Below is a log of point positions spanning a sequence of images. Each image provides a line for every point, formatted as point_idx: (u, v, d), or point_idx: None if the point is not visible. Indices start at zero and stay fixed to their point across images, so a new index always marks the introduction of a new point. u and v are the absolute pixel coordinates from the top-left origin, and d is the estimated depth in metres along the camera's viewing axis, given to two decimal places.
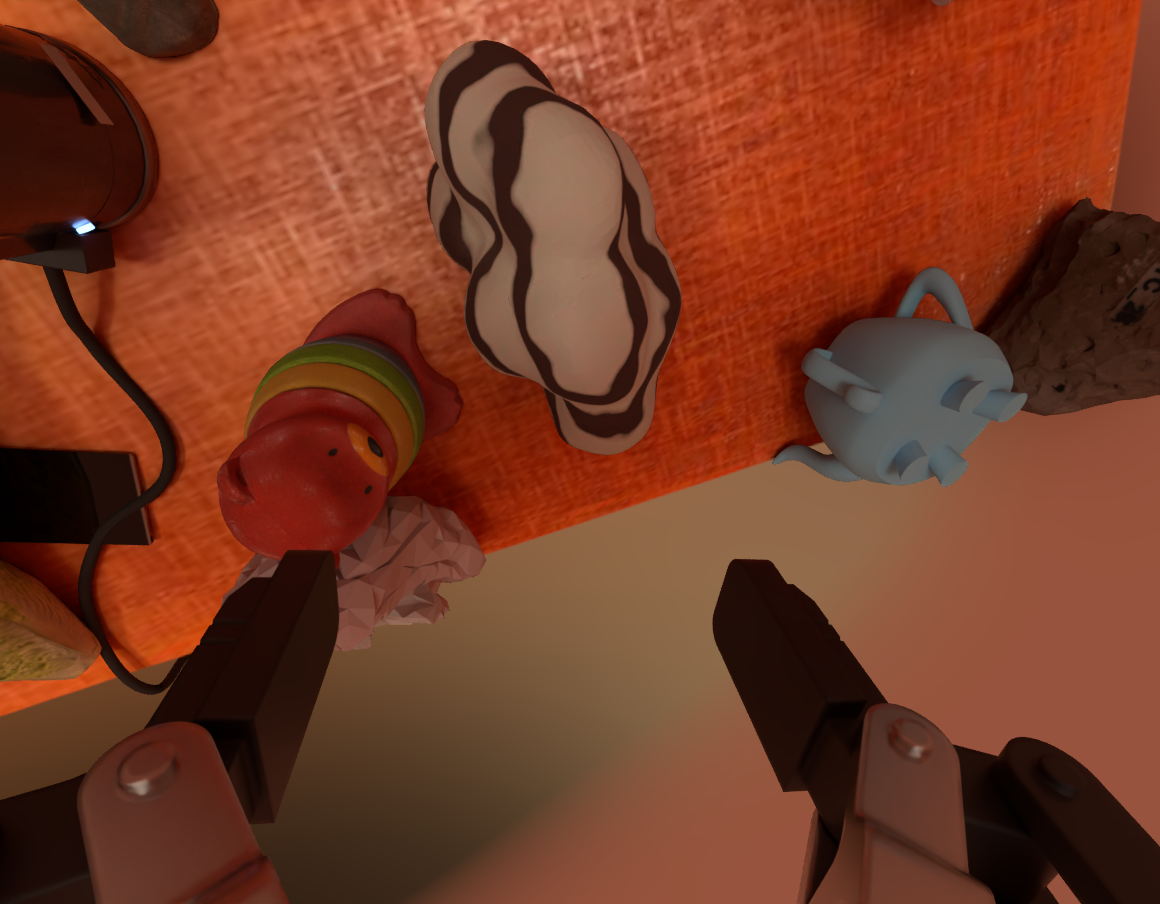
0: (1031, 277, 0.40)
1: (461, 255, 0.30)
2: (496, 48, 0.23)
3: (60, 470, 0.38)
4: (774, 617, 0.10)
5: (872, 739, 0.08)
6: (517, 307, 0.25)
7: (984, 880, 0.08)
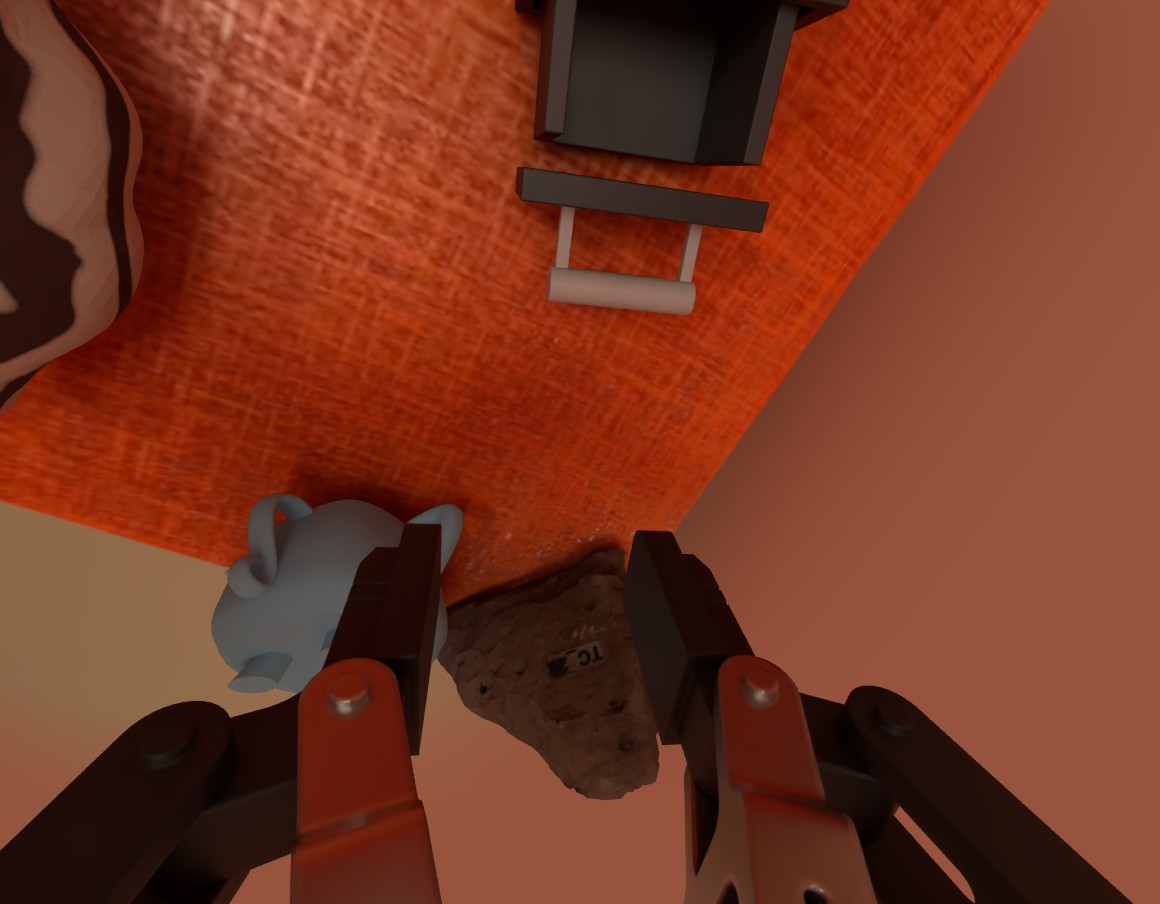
0: (548, 578, 0.39)
1: None
2: None
3: None
4: (660, 581, 0.10)
5: (721, 686, 0.08)
6: None
7: None
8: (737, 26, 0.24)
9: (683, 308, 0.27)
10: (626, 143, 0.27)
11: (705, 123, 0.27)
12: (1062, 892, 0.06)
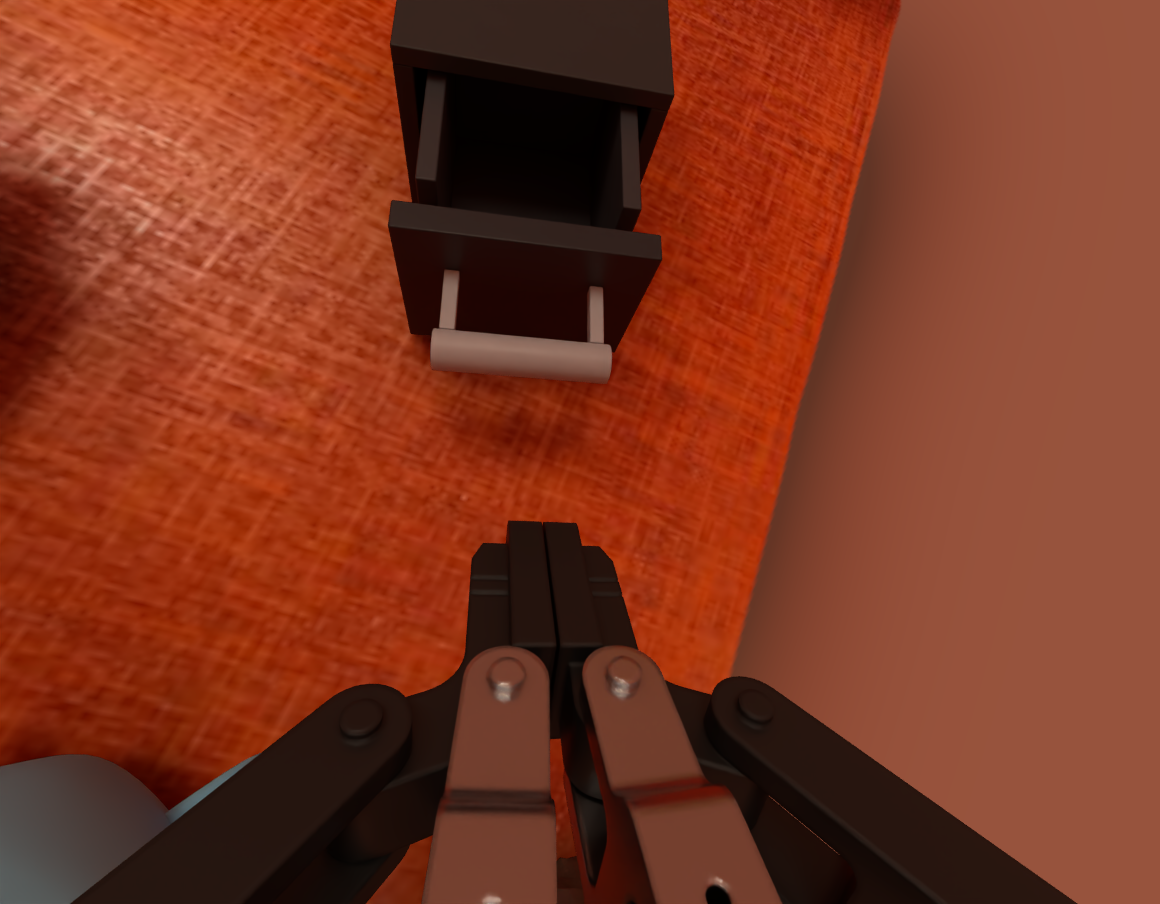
0: None
1: None
2: None
3: None
4: (550, 572, 0.10)
5: (583, 677, 0.08)
6: None
7: None
8: (599, 180, 0.28)
9: (600, 363, 0.22)
10: None
11: None
12: (924, 846, 0.06)
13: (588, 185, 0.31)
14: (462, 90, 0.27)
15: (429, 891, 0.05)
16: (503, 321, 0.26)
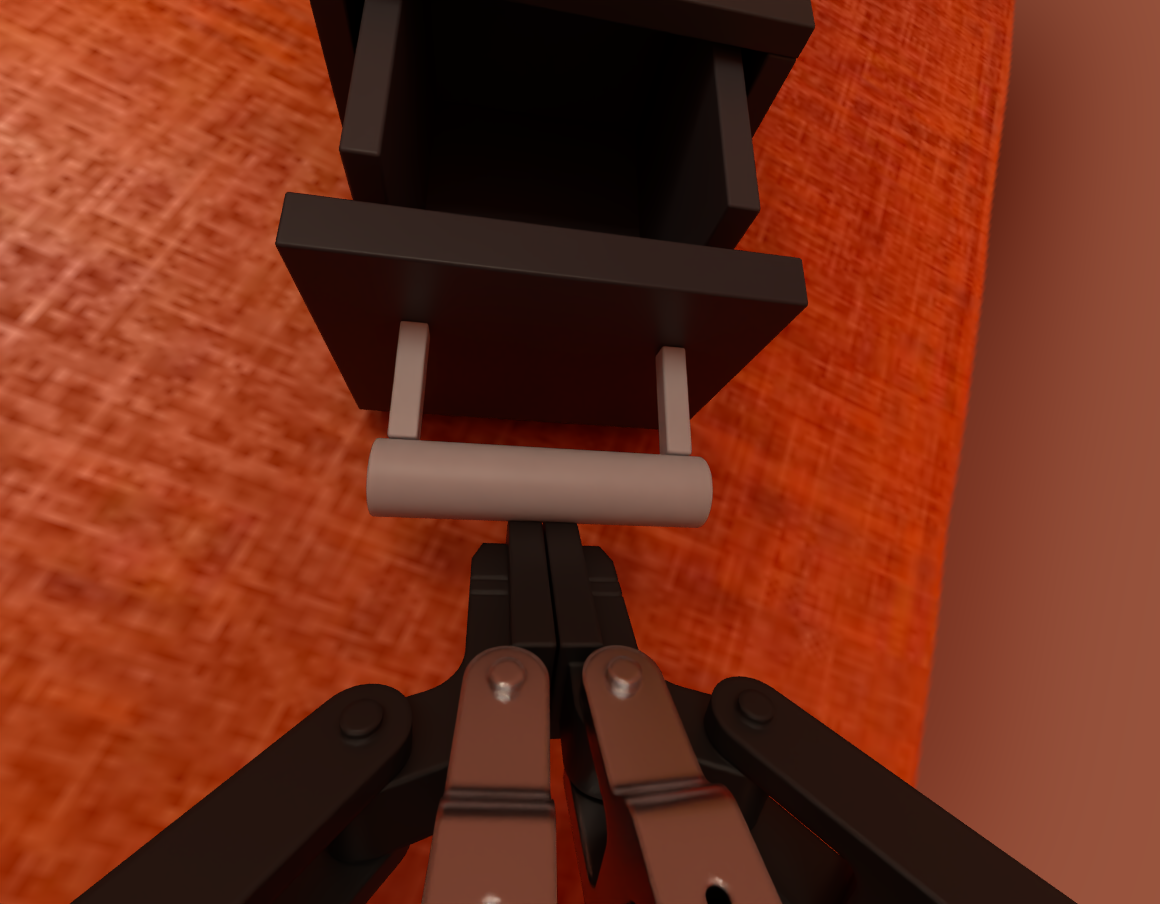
0: None
1: None
2: None
3: None
4: (550, 572, 0.10)
5: (583, 678, 0.08)
6: None
7: None
8: (659, 163, 0.18)
9: (691, 498, 0.12)
10: None
11: None
12: (924, 846, 0.06)
13: (634, 174, 0.20)
14: (443, 20, 0.17)
15: (429, 891, 0.05)
16: (507, 394, 0.16)
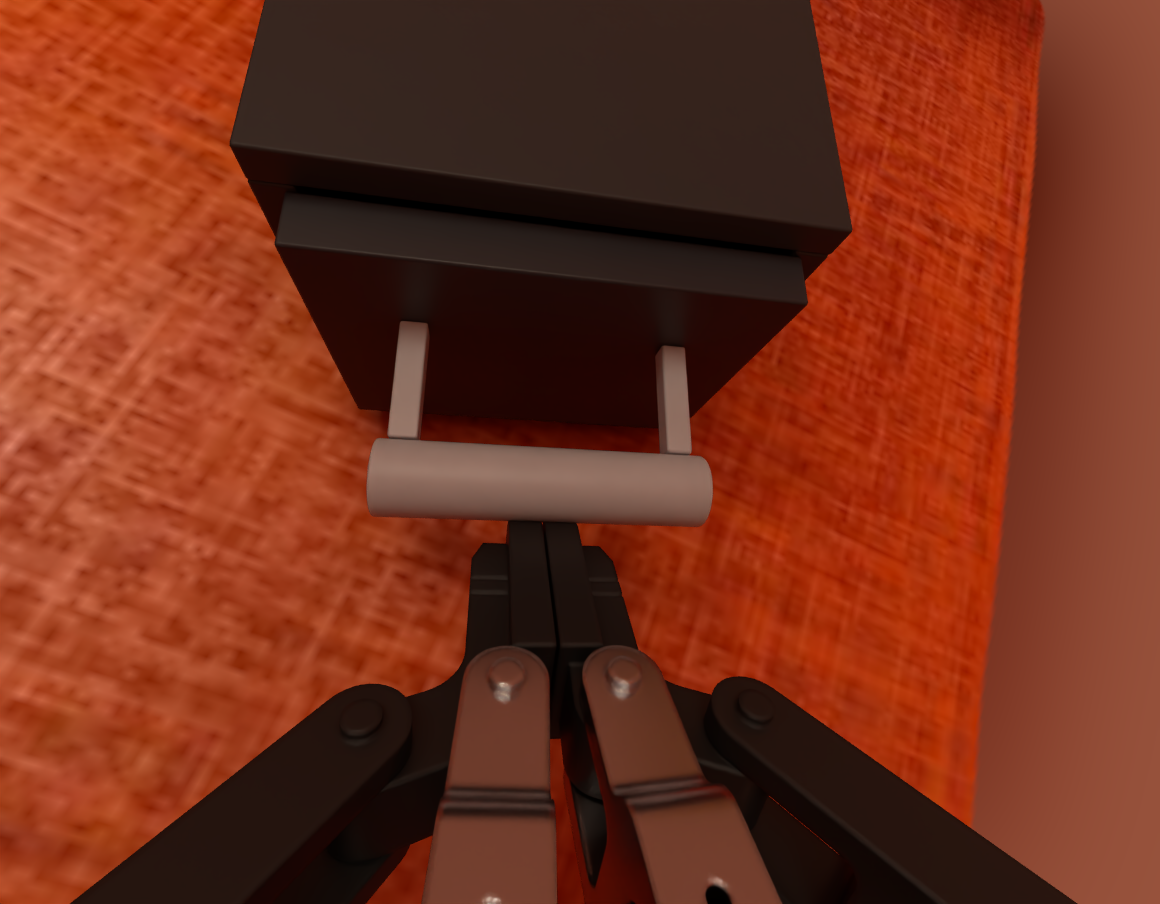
0: None
1: None
2: None
3: None
4: (550, 572, 0.10)
5: (584, 677, 0.08)
6: None
7: None
8: None
9: (692, 498, 0.12)
10: None
11: None
12: (924, 846, 0.06)
13: None
14: None
15: (429, 891, 0.05)
16: (507, 394, 0.16)
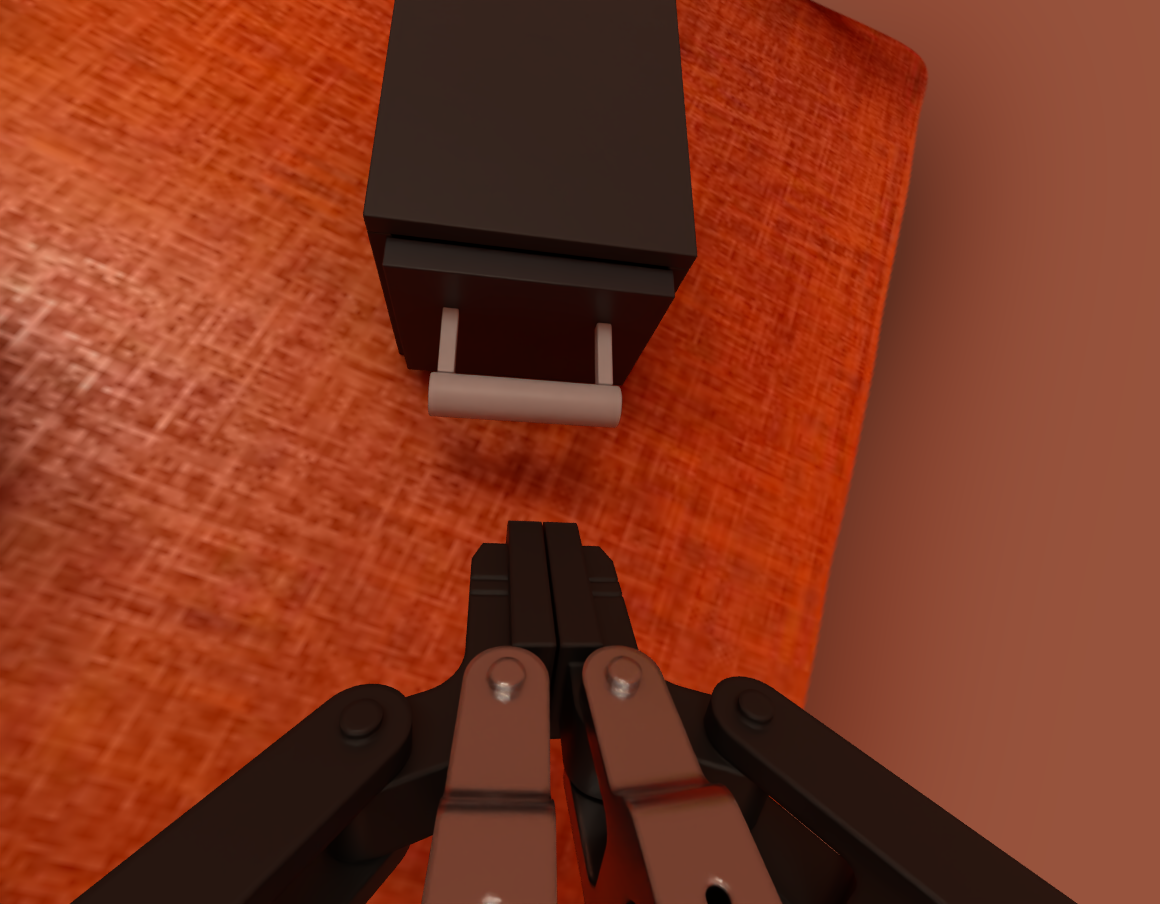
0: None
1: None
2: None
3: None
4: (550, 572, 0.10)
5: (584, 677, 0.08)
6: None
7: None
8: None
9: (609, 407, 0.20)
10: None
11: None
12: (925, 846, 0.06)
13: None
14: None
15: (429, 891, 0.05)
16: (505, 357, 0.25)
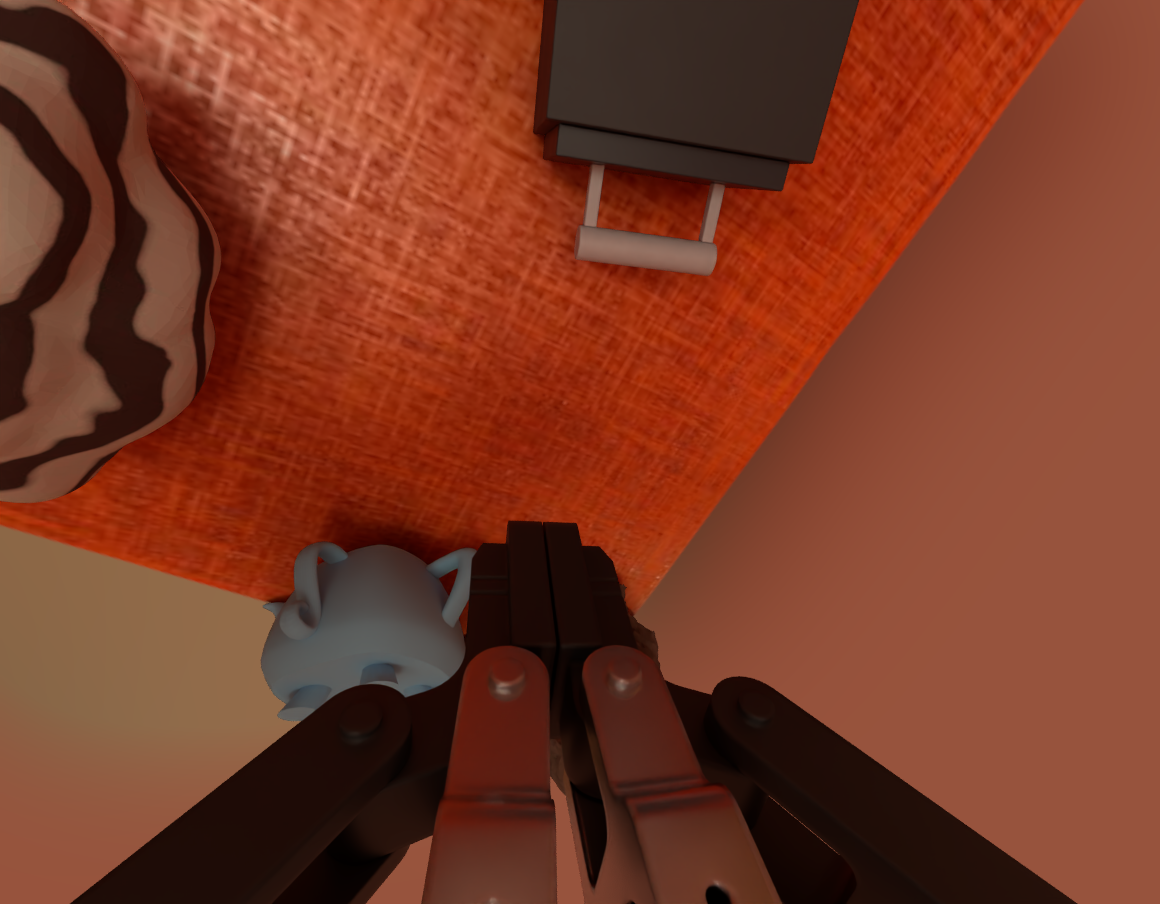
0: None
1: None
2: (55, 33, 0.19)
3: None
4: (550, 572, 0.10)
5: (584, 678, 0.08)
6: None
7: None
8: None
9: (705, 267, 0.28)
10: None
11: None
12: (924, 846, 0.06)
13: None
14: None
15: (429, 891, 0.05)
16: (629, 171, 0.29)
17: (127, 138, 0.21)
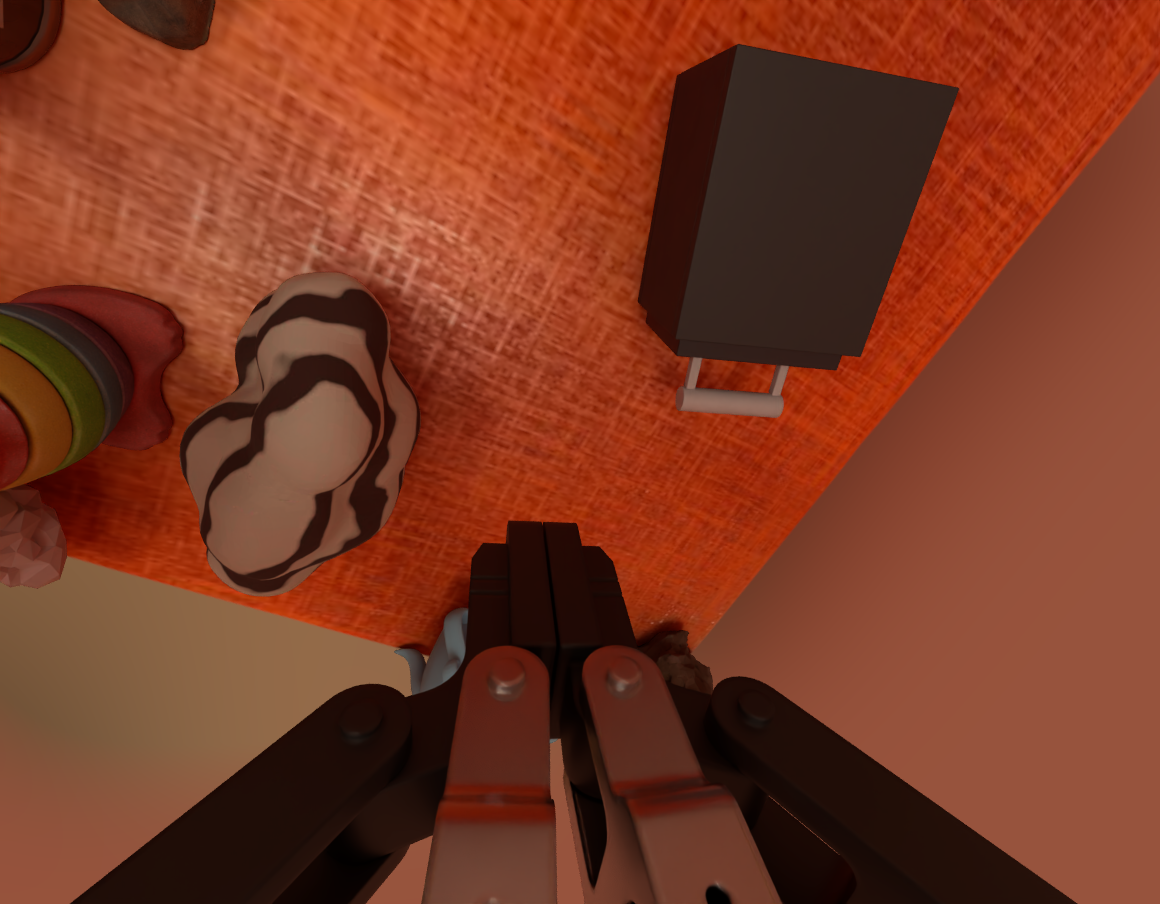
0: None
1: (239, 373, 0.32)
2: (358, 307, 0.28)
3: None
4: (550, 572, 0.10)
5: (584, 678, 0.08)
6: (221, 470, 0.28)
7: None
8: None
9: (774, 414, 0.37)
10: None
11: None
12: (924, 846, 0.06)
13: None
14: None
15: (429, 891, 0.05)
16: None
17: (385, 359, 0.30)
